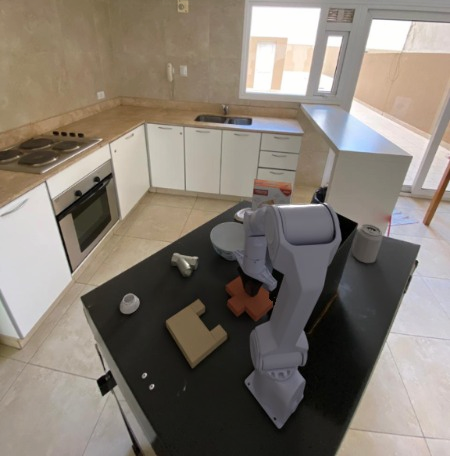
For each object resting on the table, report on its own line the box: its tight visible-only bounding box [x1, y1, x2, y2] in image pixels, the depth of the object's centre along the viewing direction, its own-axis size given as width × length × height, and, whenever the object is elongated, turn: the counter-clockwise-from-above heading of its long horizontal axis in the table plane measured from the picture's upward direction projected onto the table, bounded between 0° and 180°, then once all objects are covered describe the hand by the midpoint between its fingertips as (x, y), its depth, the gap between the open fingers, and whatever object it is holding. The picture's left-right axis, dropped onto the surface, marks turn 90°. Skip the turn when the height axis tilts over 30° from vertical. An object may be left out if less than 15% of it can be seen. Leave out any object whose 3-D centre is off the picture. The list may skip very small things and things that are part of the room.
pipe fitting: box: [170, 252, 199, 278], centre depth 80 cm, size 8×4×7 cm
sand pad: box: [165, 298, 228, 369], centre depth 62 cm, size 12×10×2 cm
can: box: [351, 223, 384, 264], centre depth 87 cm, size 8×8×12 cm
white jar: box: [119, 293, 141, 315], centre depth 68 cm, size 5×3×5 cm
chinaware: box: [209, 221, 245, 261], centre depth 87 cm, size 15×15×8 cm
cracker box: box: [250, 178, 293, 212], centre depth 98 cm, size 14×6×21 cm, turn 81°
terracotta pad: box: [225, 275, 274, 323], centre depth 69 cm, size 12×11×6 cm
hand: (250, 291), depth 70 cm, fingers closed on terracotta pad, 2 cm apart
